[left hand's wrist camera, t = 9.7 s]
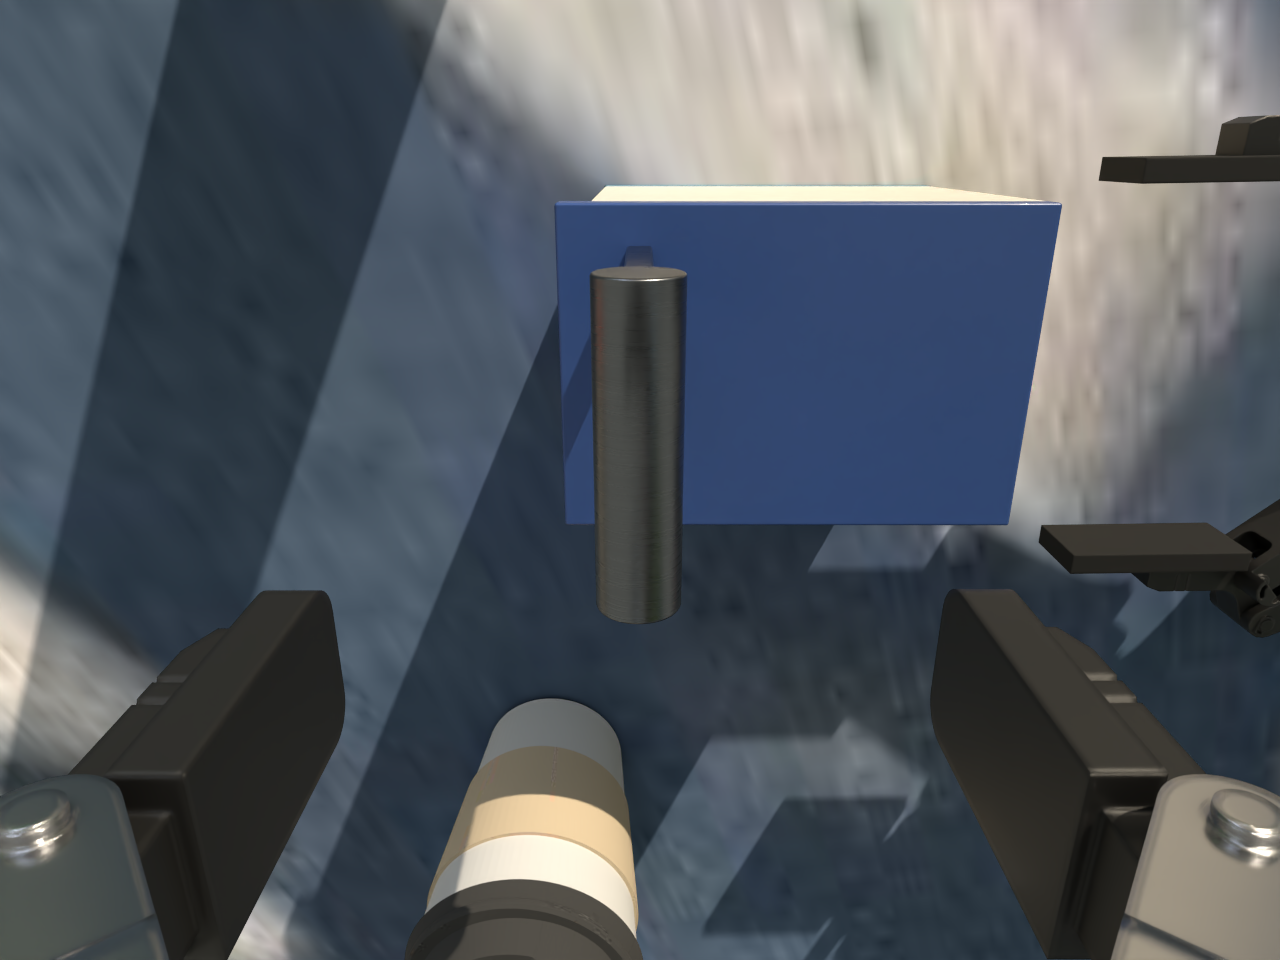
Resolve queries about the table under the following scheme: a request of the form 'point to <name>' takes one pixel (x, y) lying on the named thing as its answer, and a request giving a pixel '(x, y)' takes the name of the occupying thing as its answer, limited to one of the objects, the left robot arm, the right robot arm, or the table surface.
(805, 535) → the table surface
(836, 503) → the lid
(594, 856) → the coffee cup
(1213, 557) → the right robot arm
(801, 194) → the chest
